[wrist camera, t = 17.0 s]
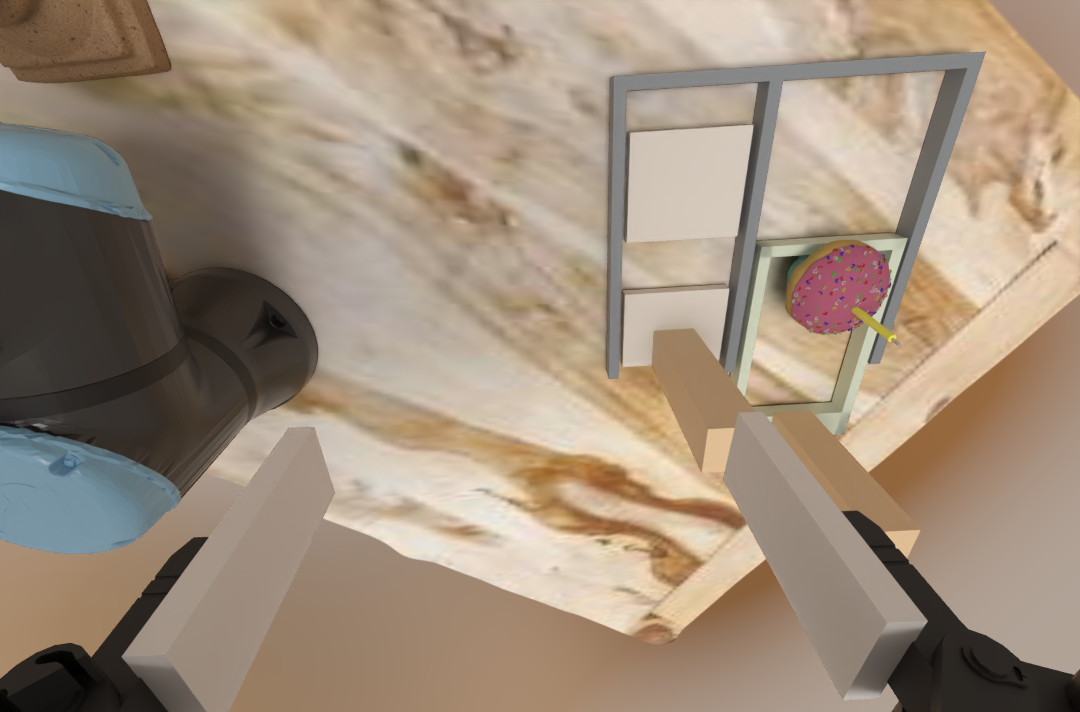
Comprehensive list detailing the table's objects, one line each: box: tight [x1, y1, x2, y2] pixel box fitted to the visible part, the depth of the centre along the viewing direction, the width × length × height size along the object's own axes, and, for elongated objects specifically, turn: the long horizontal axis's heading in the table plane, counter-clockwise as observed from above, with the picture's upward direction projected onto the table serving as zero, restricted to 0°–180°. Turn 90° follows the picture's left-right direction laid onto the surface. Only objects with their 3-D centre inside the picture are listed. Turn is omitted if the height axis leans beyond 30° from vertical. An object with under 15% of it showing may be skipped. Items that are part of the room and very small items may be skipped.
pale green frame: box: [730, 233, 920, 558], centre depth 40 cm, size 22×13×18 cm, turn 3°
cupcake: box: [786, 240, 901, 347], centre depth 39 cm, size 9×8×12 cm
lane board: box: [606, 52, 986, 379], centre depth 42 cm, size 27×28×2 cm
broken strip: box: [621, 124, 755, 473], centre depth 36 cm, size 22×10×17 cm, turn 3°
